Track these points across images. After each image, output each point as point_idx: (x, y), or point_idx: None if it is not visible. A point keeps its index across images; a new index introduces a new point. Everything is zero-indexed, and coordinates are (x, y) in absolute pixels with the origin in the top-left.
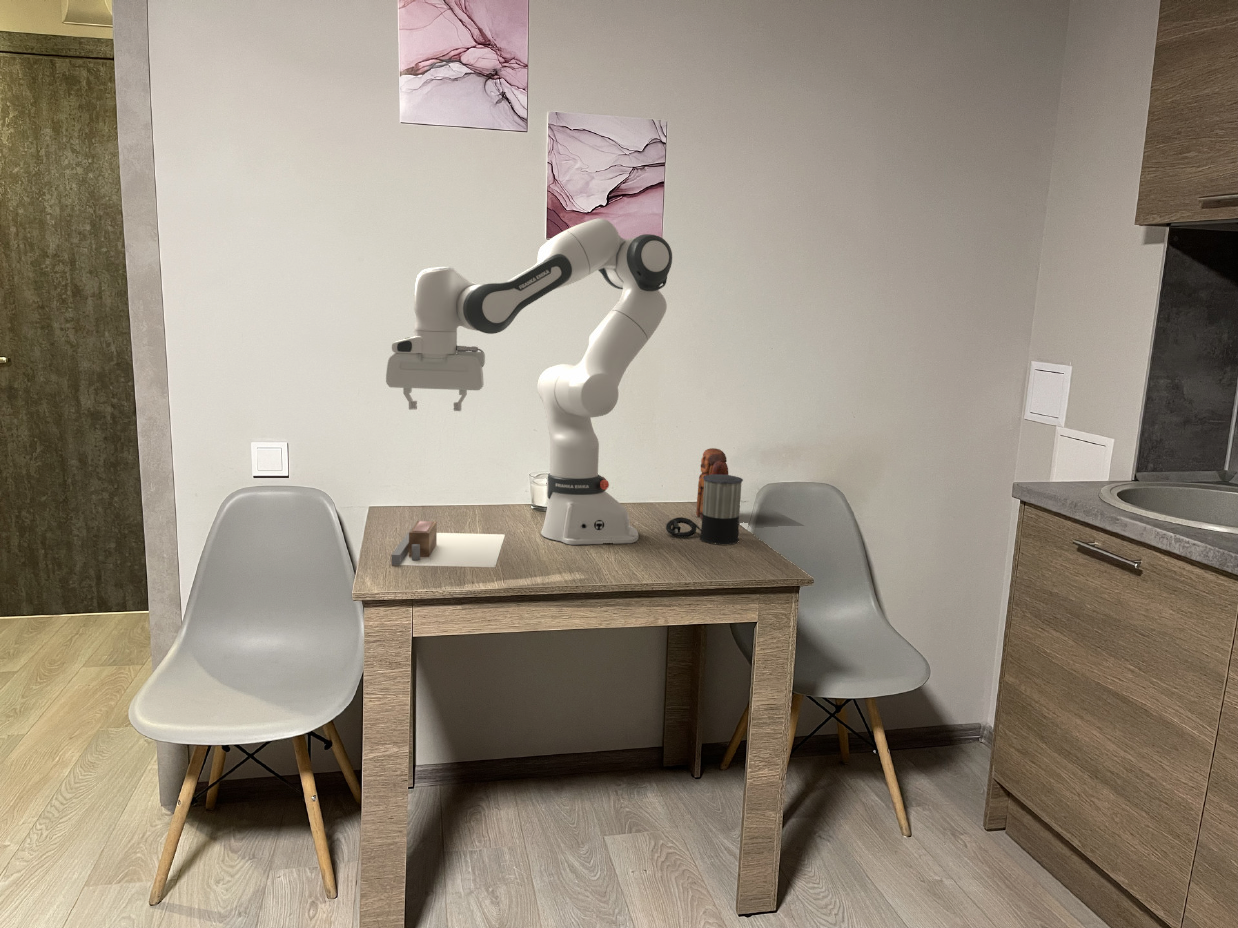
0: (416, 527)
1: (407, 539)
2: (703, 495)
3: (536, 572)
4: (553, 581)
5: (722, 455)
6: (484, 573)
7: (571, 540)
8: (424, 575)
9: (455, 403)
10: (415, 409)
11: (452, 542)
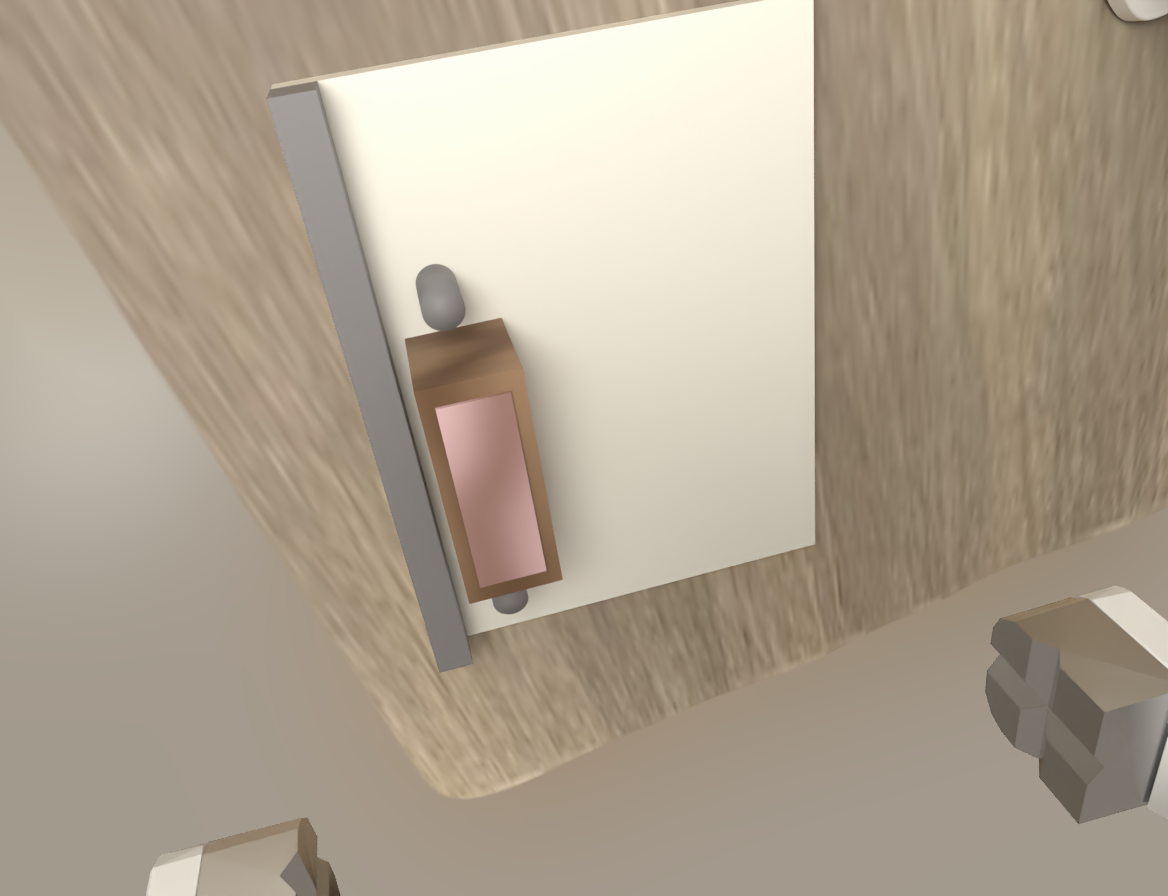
0: (473, 529)
1: (398, 456)
2: None
3: (945, 475)
4: (993, 543)
5: None
6: None
7: (1148, 19)
8: (570, 630)
9: (1105, 805)
10: (334, 892)
11: (568, 257)
